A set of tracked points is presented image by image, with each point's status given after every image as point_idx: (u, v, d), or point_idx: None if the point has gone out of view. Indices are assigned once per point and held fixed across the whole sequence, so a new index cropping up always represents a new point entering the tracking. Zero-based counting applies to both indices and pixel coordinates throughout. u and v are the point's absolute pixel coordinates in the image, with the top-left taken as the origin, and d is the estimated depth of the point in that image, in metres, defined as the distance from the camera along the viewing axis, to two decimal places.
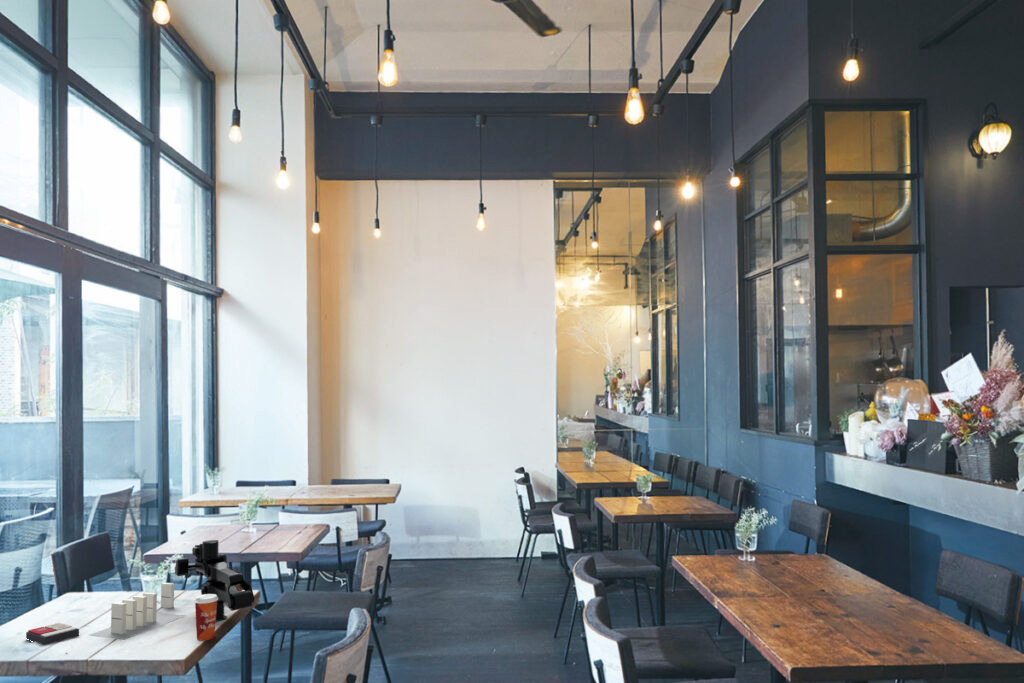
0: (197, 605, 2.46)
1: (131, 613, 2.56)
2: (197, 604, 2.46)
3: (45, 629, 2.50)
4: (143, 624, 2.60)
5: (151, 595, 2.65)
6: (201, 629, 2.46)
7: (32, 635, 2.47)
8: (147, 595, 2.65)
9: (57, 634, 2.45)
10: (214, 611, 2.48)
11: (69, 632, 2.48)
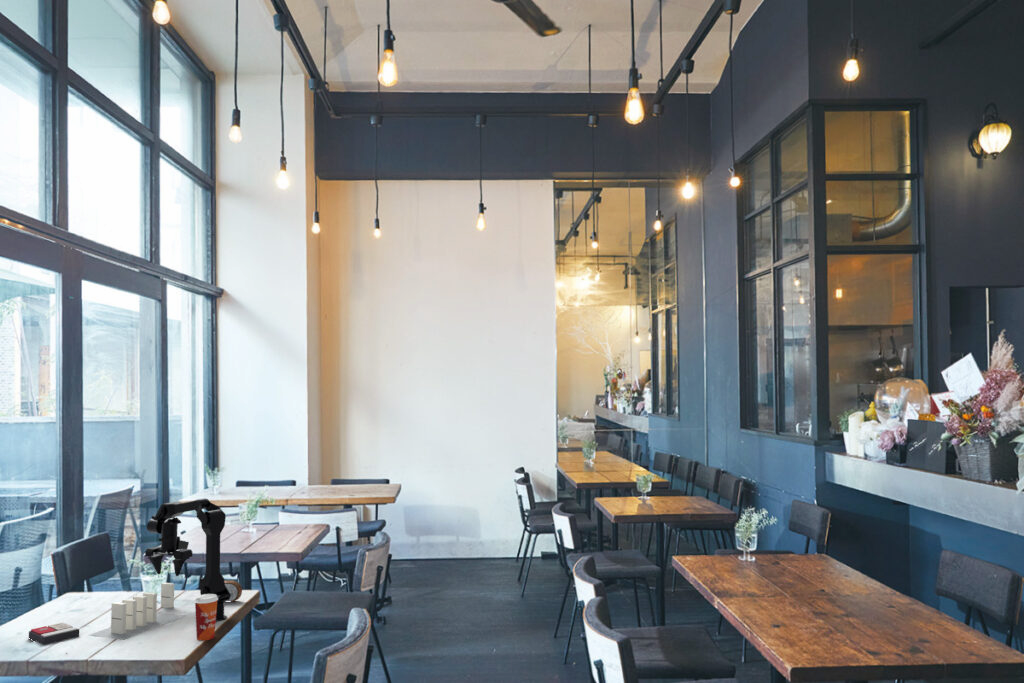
0: (197, 605, 2.46)
1: (131, 613, 2.56)
2: (197, 604, 2.46)
3: (47, 629, 2.50)
4: (143, 624, 2.60)
5: (151, 595, 2.65)
6: (201, 629, 2.46)
7: (33, 634, 2.47)
8: (147, 595, 2.65)
9: (57, 634, 2.45)
10: (214, 611, 2.48)
11: (69, 632, 2.47)
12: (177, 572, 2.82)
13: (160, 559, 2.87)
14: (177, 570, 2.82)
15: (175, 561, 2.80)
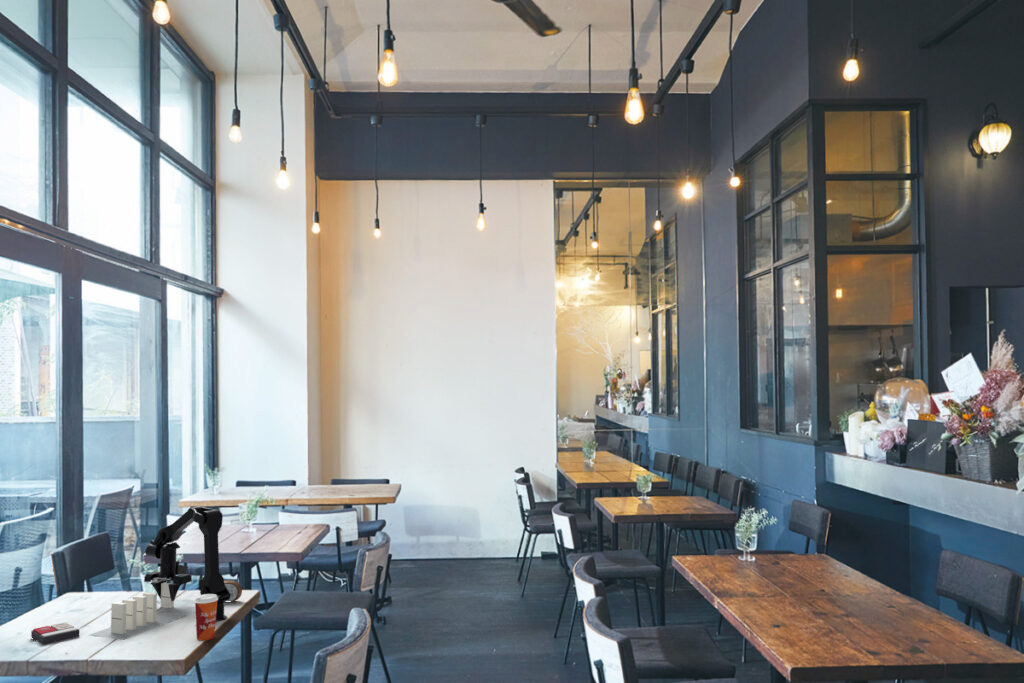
0: (197, 605, 2.46)
1: (131, 613, 2.56)
2: (197, 604, 2.46)
3: (48, 628, 2.50)
4: (143, 624, 2.60)
5: (151, 595, 2.65)
6: (201, 629, 2.46)
7: (35, 634, 2.48)
8: (147, 595, 2.65)
9: (56, 634, 2.44)
10: (214, 611, 2.48)
11: (69, 633, 2.47)
12: (172, 597, 2.82)
13: None
14: (172, 595, 2.82)
15: (170, 586, 2.80)
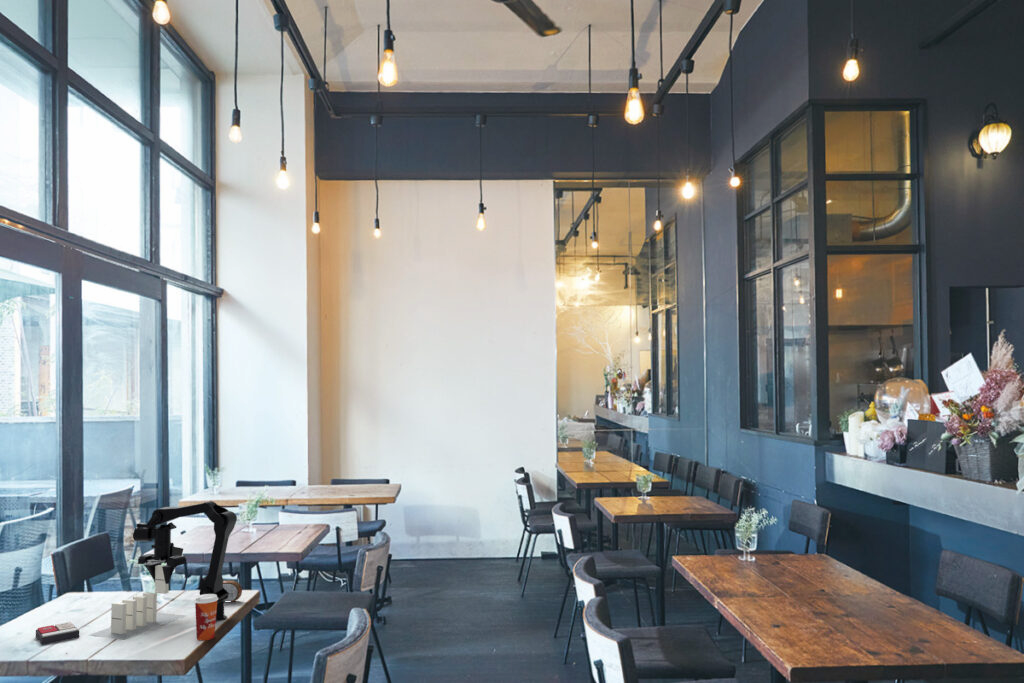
0: (197, 605, 2.46)
1: (131, 613, 2.56)
2: (197, 604, 2.46)
3: (50, 628, 2.50)
4: (143, 624, 2.60)
5: (151, 595, 2.65)
6: (201, 629, 2.46)
7: (37, 633, 2.49)
8: (147, 595, 2.65)
9: (55, 635, 2.44)
10: (214, 611, 2.48)
11: (68, 633, 2.46)
12: (167, 579, 2.72)
13: None
14: (167, 577, 2.72)
15: (164, 568, 2.70)
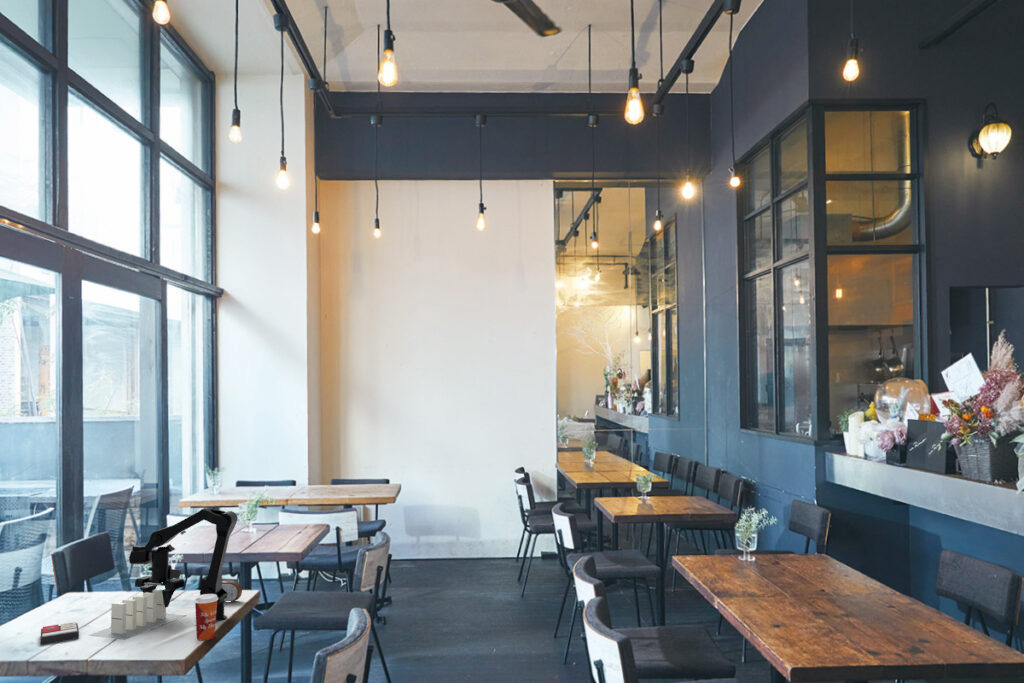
0: (197, 605, 2.46)
1: (131, 613, 2.56)
2: (197, 604, 2.46)
3: (53, 628, 2.51)
4: (143, 624, 2.60)
5: (151, 595, 2.65)
6: (201, 629, 2.46)
7: None
8: (147, 595, 2.65)
9: (55, 635, 2.44)
10: (214, 611, 2.48)
11: (67, 634, 2.46)
12: (166, 603, 2.68)
13: None
14: (166, 601, 2.68)
15: (164, 591, 2.66)
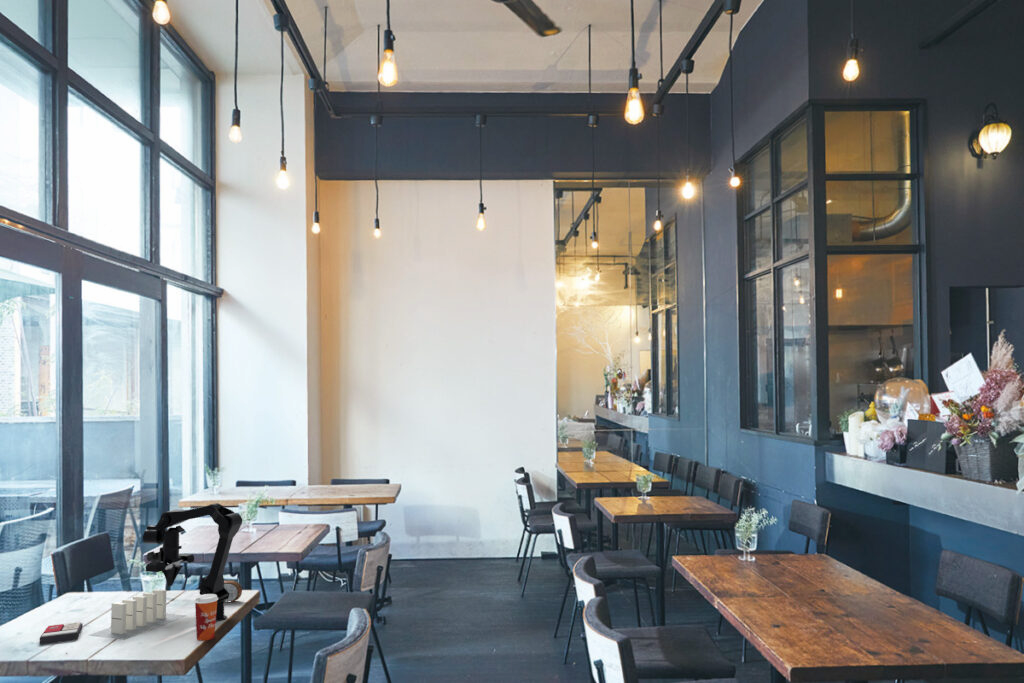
0: (197, 605, 2.46)
1: (131, 613, 2.56)
2: (197, 604, 2.46)
3: (56, 628, 2.51)
4: (143, 624, 2.60)
5: (151, 595, 2.65)
6: (201, 629, 2.46)
7: None
8: (147, 595, 2.65)
9: (53, 635, 2.43)
10: (214, 611, 2.48)
11: (66, 635, 2.45)
12: None
13: None
14: None
15: (179, 568, 2.76)
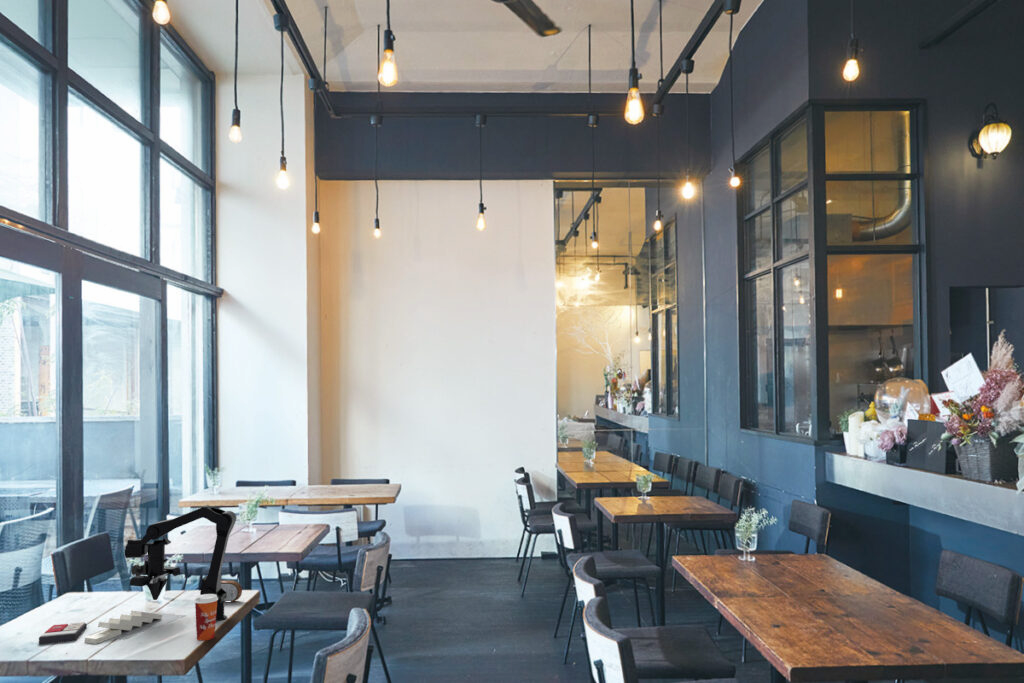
0: (197, 605, 2.46)
1: None
2: (197, 604, 2.46)
3: (58, 627, 2.51)
4: (140, 625, 2.58)
5: None
6: (201, 629, 2.46)
7: None
8: (125, 619, 2.56)
9: (52, 636, 2.43)
10: (214, 611, 2.48)
11: (65, 636, 2.44)
12: None
13: None
14: None
15: (165, 581, 2.69)
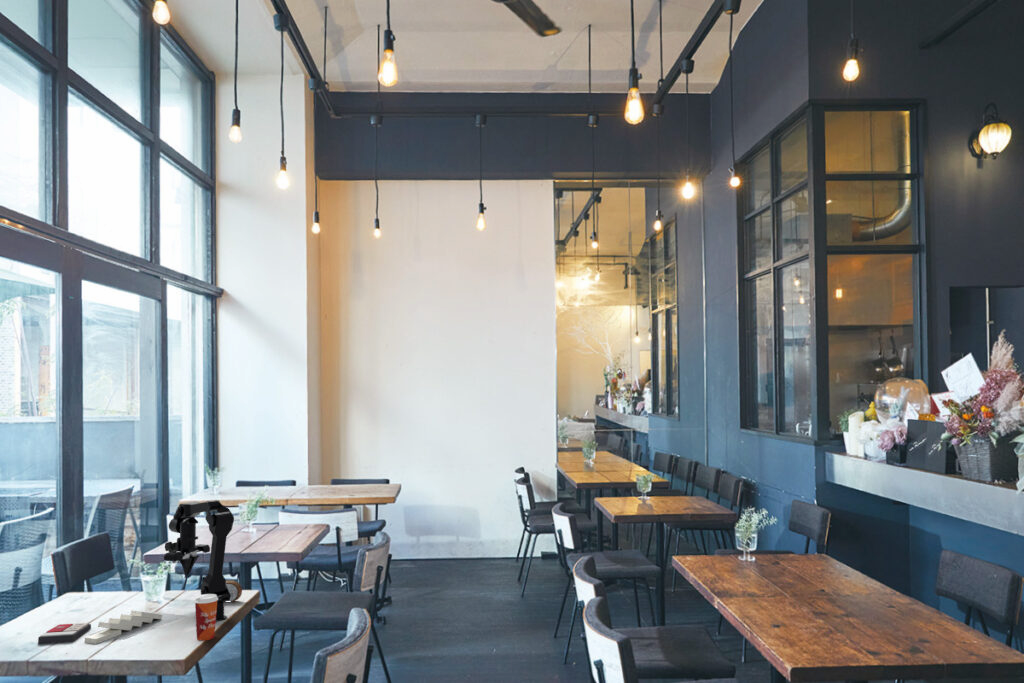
0: (197, 605, 2.46)
1: None
2: (197, 604, 2.46)
3: (61, 627, 2.51)
4: (140, 625, 2.58)
5: None
6: (201, 629, 2.46)
7: None
8: (125, 619, 2.56)
9: (51, 636, 2.43)
10: (214, 611, 2.48)
11: (63, 636, 2.43)
12: None
13: None
14: None
15: (196, 557, 2.86)
